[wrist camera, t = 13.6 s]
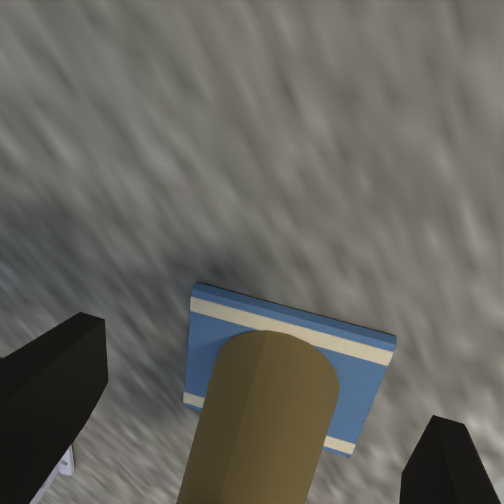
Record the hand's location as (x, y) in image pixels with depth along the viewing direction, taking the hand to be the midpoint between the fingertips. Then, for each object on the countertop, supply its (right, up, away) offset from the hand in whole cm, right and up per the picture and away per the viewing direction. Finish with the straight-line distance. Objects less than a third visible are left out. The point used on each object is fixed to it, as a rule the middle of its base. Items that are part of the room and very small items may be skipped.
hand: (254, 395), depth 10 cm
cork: (+1, -3, +12) cm, 13 cm away
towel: (+1, -3, +13) cm, 13 cm away
